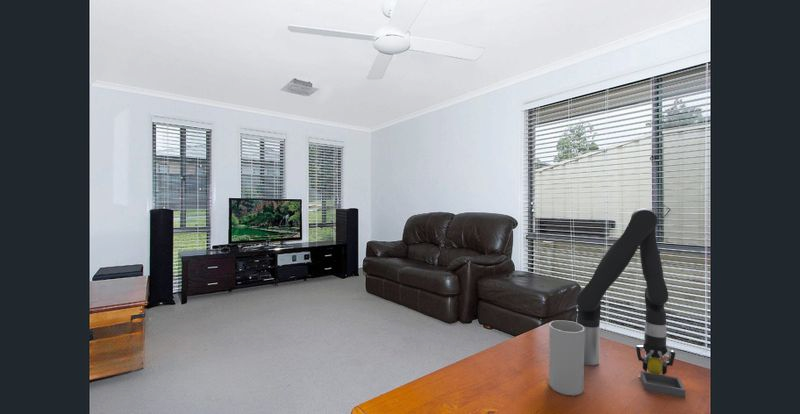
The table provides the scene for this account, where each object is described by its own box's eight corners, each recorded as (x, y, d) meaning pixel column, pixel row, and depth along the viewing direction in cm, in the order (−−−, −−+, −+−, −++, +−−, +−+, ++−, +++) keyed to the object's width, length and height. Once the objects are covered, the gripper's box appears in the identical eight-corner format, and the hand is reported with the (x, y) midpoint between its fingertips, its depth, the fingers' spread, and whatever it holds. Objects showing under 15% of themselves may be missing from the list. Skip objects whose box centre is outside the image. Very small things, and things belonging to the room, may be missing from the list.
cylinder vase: (568, 400, 139) (569, 334, 138) (542, 384, 150) (542, 323, 149) (590, 391, 145) (591, 328, 143) (563, 376, 156) (563, 318, 155)
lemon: (664, 379, 153) (665, 360, 152) (649, 377, 154) (650, 359, 153) (658, 372, 158) (658, 354, 158) (643, 371, 159) (644, 353, 159)
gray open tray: (644, 390, 145) (644, 382, 145) (640, 378, 154) (640, 371, 154) (685, 398, 139) (685, 390, 139) (678, 385, 148) (679, 377, 148)
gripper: (636, 333, 155) (635, 372, 156) (678, 339, 148) (677, 380, 149) (633, 327, 161) (633, 364, 162) (674, 332, 155) (673, 371, 156)
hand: (654, 372), depth 156 cm, fingers closed on lemon, 5 cm apart
